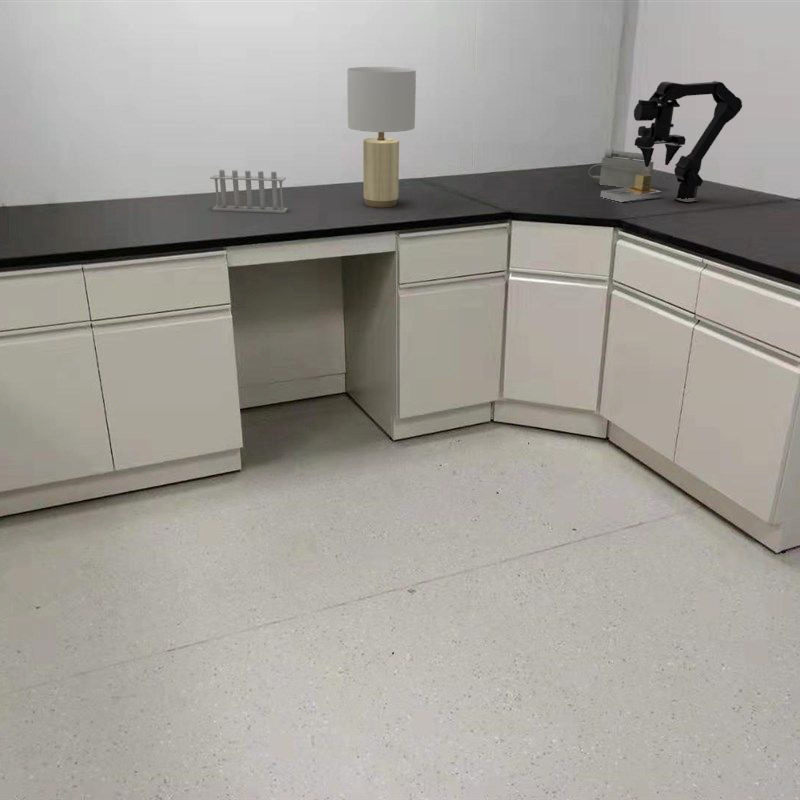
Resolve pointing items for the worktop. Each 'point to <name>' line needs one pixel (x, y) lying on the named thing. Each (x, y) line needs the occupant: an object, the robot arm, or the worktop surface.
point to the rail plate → (628, 194)
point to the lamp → (381, 125)
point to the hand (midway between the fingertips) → (656, 165)
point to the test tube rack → (249, 192)
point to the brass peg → (642, 182)
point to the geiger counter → (621, 168)
